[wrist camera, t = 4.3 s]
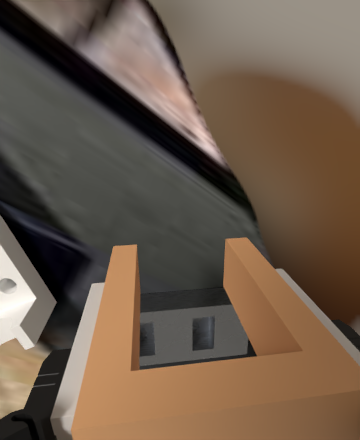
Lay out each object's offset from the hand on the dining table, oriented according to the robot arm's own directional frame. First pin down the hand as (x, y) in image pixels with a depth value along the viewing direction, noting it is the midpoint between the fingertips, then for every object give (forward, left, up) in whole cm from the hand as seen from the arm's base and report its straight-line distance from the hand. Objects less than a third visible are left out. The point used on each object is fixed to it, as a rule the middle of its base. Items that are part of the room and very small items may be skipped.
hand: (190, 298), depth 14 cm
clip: (0, 0, -3) cm, 3 cm away
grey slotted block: (+14, 0, -16) cm, 22 cm away
